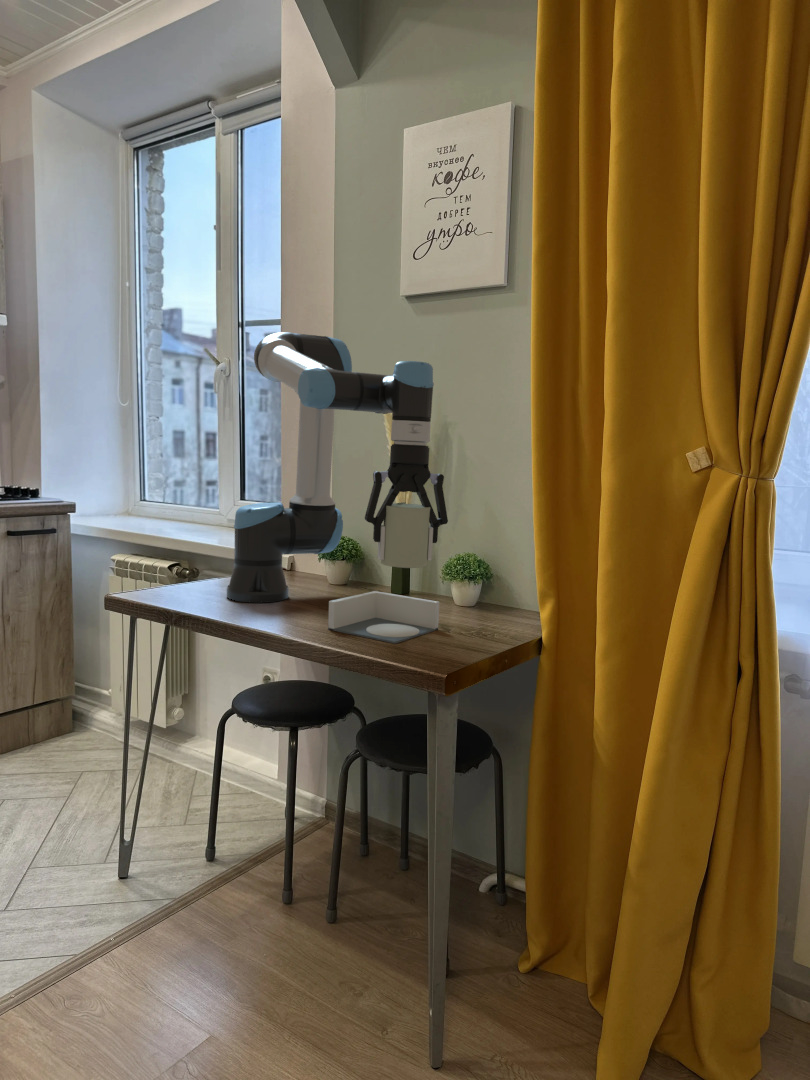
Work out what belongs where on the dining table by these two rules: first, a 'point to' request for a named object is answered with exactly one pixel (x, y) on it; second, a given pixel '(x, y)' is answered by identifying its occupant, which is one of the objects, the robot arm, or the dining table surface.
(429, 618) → the walls
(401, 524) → the can
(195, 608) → the dining table surface
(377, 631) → the mat
